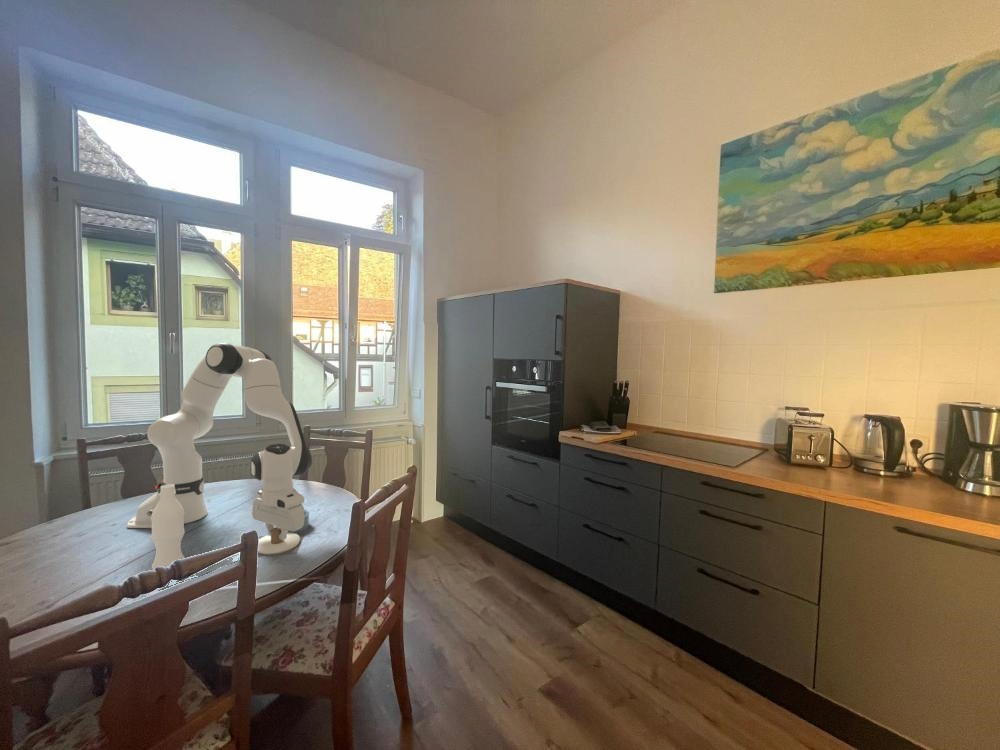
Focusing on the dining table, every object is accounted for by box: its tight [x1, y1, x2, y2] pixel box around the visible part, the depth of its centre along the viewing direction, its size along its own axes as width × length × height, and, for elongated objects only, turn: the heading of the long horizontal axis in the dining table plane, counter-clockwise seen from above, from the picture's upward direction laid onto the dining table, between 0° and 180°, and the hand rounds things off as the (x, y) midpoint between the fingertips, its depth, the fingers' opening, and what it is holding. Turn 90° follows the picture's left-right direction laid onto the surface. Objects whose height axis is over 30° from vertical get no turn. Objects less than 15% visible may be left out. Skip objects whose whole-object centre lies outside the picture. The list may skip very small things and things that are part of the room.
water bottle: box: [150, 484, 186, 570], centre depth 112 cm, size 7×7×25 cm
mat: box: [257, 532, 306, 558], centre depth 130 cm, size 14×14×1 cm
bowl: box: [275, 509, 310, 534], centre depth 142 cm, size 10×10×5 cm
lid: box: [258, 526, 300, 555], centre depth 129 cm, size 13×13×5 cm
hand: (277, 537), depth 129 cm, fingers closed on lid, 4 cm apart
